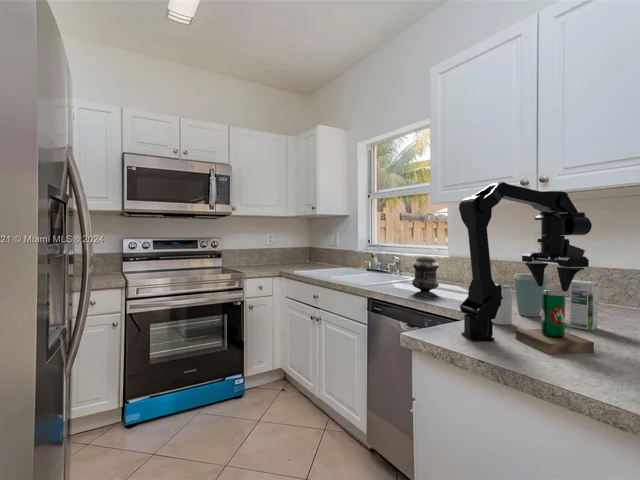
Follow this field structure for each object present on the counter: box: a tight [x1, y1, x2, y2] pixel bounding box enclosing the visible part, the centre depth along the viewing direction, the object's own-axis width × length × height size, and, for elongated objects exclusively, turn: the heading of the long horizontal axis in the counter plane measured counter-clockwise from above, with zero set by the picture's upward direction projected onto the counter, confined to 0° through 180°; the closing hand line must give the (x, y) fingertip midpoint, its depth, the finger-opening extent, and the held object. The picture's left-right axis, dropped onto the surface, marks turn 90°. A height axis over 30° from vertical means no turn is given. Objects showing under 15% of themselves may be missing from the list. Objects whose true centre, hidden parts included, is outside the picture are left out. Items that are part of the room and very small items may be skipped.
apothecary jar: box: [411, 255, 440, 298], centre depth 159 cm, size 12×12×18 cm
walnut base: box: [515, 328, 595, 355], centre depth 89 cm, size 12×12×2 cm
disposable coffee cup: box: [513, 273, 549, 318], centre depth 122 cm, size 11×11×15 cm
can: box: [491, 284, 513, 326], centre depth 111 cm, size 6×6×12 cm
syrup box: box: [569, 279, 599, 332], centre depth 105 cm, size 6×6×14 cm
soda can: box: [540, 288, 566, 338], centre depth 89 cm, size 5×5×12 cm
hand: (552, 288), depth 100 cm, fingers open, 9 cm apart
